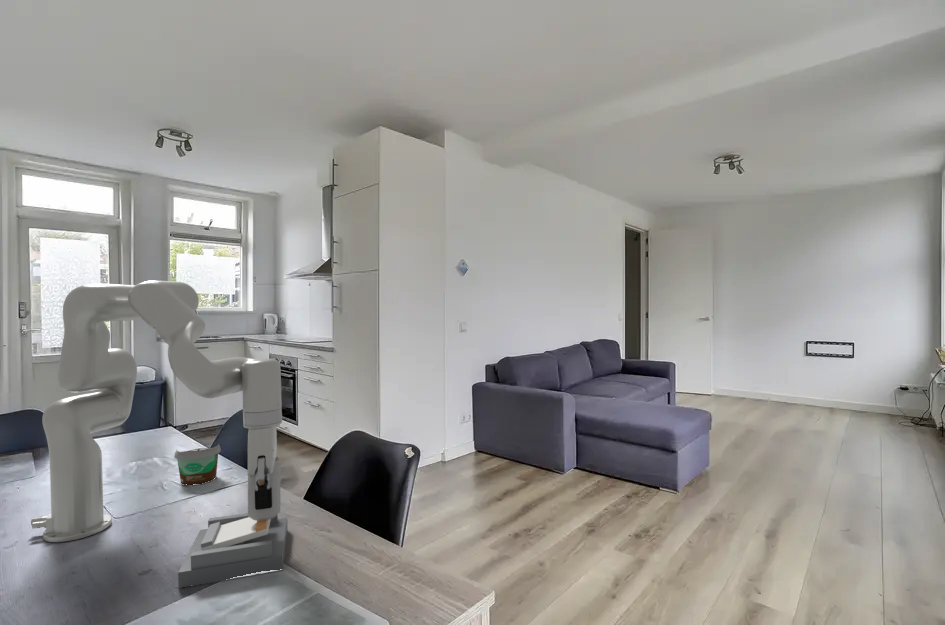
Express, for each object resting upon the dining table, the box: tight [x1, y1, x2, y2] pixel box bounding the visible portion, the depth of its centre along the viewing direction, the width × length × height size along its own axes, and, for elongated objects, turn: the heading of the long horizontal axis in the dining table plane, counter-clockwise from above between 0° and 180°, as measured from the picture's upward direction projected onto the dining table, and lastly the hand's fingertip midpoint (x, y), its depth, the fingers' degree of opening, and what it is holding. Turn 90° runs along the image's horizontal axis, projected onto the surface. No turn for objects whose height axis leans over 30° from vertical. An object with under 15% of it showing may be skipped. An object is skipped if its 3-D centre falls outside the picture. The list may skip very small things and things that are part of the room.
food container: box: [173, 443, 222, 486], centre depth 144 cm, size 12×6×10 cm, turn 117°
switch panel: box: [177, 512, 288, 589], centre depth 101 cm, size 18×18×6 cm
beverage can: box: [247, 456, 282, 521], centre depth 103 cm, size 6×6×12 cm
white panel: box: [201, 517, 271, 551], centre depth 101 cm, size 12×9×2 cm
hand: (265, 501), depth 103 cm, fingers closed on beverage can, 6 cm apart
